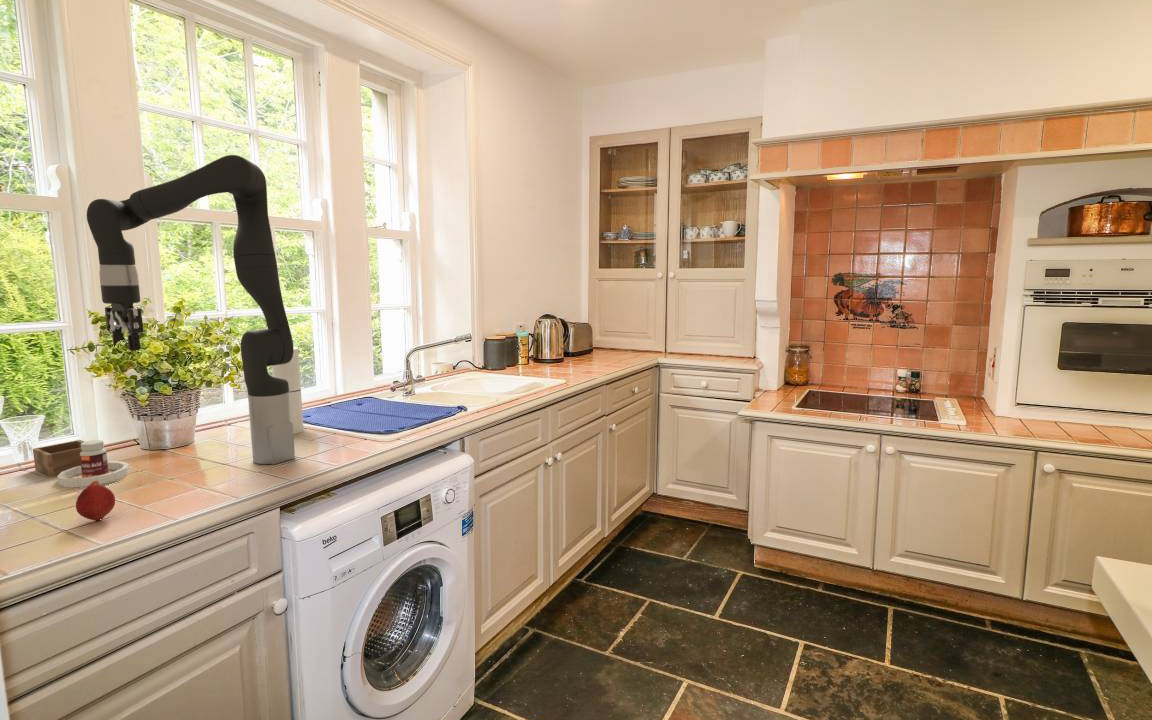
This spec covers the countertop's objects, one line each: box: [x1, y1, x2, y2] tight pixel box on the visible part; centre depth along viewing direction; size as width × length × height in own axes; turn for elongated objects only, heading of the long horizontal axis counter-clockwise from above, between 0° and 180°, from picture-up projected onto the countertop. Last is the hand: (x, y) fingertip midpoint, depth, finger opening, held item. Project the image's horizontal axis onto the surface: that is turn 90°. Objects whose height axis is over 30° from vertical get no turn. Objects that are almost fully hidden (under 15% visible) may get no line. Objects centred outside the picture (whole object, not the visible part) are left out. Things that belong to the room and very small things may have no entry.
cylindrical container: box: [271, 346, 304, 435], centre depth 175 cm, size 7×7×25 cm
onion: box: [75, 480, 116, 521], centre depth 113 cm, size 6×6×8 cm
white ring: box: [56, 460, 131, 488], centre depth 135 cm, size 12×12×2 cm
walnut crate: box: [32, 439, 85, 478], centre depth 141 cm, size 9×9×6 cm
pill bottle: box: [80, 439, 110, 478], centre depth 134 cm, size 5×5×8 cm
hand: (126, 349), depth 148 cm, fingers open, 8 cm apart
